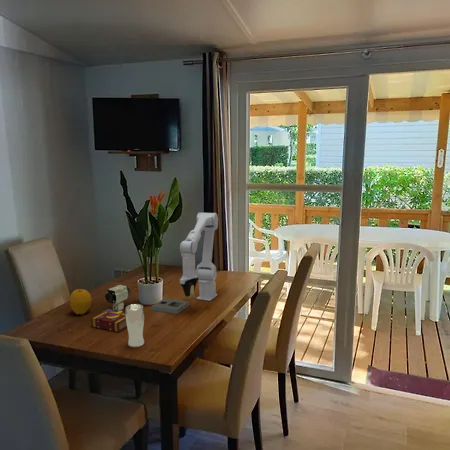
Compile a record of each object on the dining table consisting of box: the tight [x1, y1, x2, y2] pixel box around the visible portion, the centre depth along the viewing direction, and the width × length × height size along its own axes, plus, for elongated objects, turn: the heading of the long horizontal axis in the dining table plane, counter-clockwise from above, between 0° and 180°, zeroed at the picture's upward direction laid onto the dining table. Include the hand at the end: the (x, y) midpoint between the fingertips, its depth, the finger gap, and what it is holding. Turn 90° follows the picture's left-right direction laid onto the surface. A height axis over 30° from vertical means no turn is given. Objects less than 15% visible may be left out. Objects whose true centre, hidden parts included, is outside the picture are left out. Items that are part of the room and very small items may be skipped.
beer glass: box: [125, 303, 145, 348], centre depth 154 cm, size 7×7×15 cm
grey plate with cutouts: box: [151, 297, 190, 315], centre depth 192 cm, size 12×14×2 cm
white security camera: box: [104, 284, 131, 311], centre depth 190 cm, size 6×12×12 cm, turn 149°
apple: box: [69, 288, 93, 315], centre depth 186 cm, size 10×10×12 cm
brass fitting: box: [185, 284, 195, 300], centre depth 186 cm, size 4×4×6 cm
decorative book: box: [90, 308, 127, 333], centre depth 173 cm, size 11×16×5 cm
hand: (189, 294), depth 186 cm, fingers closed on brass fitting, 4 cm apart
